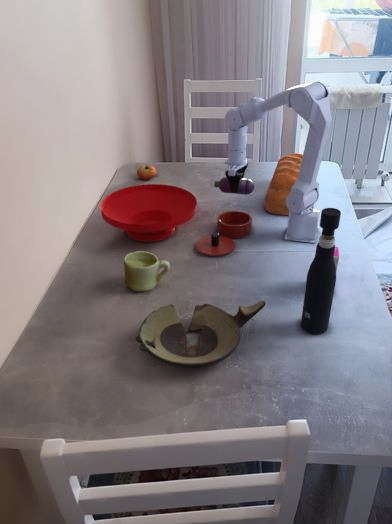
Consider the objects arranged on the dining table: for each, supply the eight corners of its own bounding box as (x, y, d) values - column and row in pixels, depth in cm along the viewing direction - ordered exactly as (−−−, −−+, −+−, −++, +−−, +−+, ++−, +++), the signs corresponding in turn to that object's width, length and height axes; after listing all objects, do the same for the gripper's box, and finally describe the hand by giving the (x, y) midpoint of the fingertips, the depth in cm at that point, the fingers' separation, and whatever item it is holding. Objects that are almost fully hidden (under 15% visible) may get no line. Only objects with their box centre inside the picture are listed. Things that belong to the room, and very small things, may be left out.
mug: (114, 288, 129) (120, 253, 125) (126, 279, 138) (133, 245, 134) (157, 301, 127) (165, 266, 124) (167, 291, 137) (174, 257, 133)
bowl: (87, 244, 153) (81, 215, 146) (132, 205, 175) (129, 178, 169) (174, 260, 143) (172, 230, 137) (210, 217, 165) (210, 189, 159)
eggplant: (255, 191, 162) (255, 177, 159) (252, 197, 158) (252, 183, 155) (216, 188, 165) (216, 174, 162) (213, 194, 161) (212, 179, 158)
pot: (254, 224, 160) (255, 212, 157) (247, 240, 151) (247, 227, 149) (222, 221, 162) (222, 209, 160) (213, 236, 154) (213, 223, 152)
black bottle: (329, 320, 118) (348, 206, 100) (326, 336, 113) (345, 220, 95) (303, 316, 120) (317, 203, 102) (298, 331, 115) (313, 216, 97)
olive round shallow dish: (142, 318, 121) (139, 293, 117) (261, 315, 121) (263, 289, 116) (133, 381, 104) (129, 355, 99) (273, 378, 103) (275, 351, 98)
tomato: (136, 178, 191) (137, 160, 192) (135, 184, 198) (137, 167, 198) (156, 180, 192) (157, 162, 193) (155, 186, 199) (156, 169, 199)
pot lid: (238, 240, 151) (239, 228, 149) (229, 260, 142) (229, 246, 140) (202, 236, 154) (201, 223, 152) (190, 255, 145) (190, 241, 143)
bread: (314, 182, 186) (318, 148, 178) (307, 217, 162) (312, 180, 154) (273, 179, 190) (276, 145, 182) (261, 213, 166) (263, 176, 158)
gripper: (230, 139, 159) (230, 179, 167) (219, 154, 148) (219, 196, 156) (251, 141, 157) (250, 181, 165) (241, 156, 146) (240, 198, 154)
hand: (236, 189), depth 161 cm, fingers closed on eggplant, 5 cm apart
